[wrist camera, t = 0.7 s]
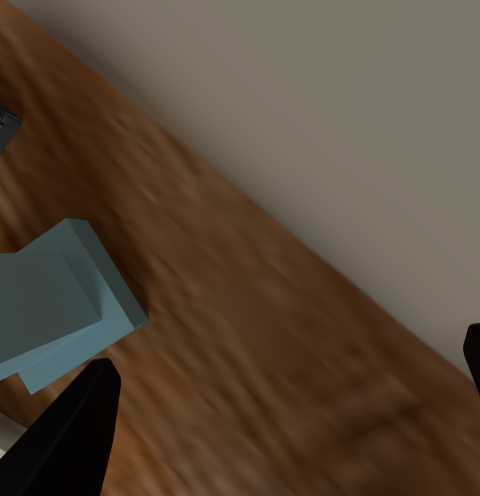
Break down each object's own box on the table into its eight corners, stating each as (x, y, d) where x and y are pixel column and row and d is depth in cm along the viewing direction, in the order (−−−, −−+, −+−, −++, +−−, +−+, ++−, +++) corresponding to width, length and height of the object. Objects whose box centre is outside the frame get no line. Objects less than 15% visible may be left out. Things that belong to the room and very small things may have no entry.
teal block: (149, 320, 25) (6, 402, 12) (55, 380, 26) (-173, 517, 13) (87, 220, 25) (-115, 195, 12) (-3, 282, 26) (-282, 320, 13)
